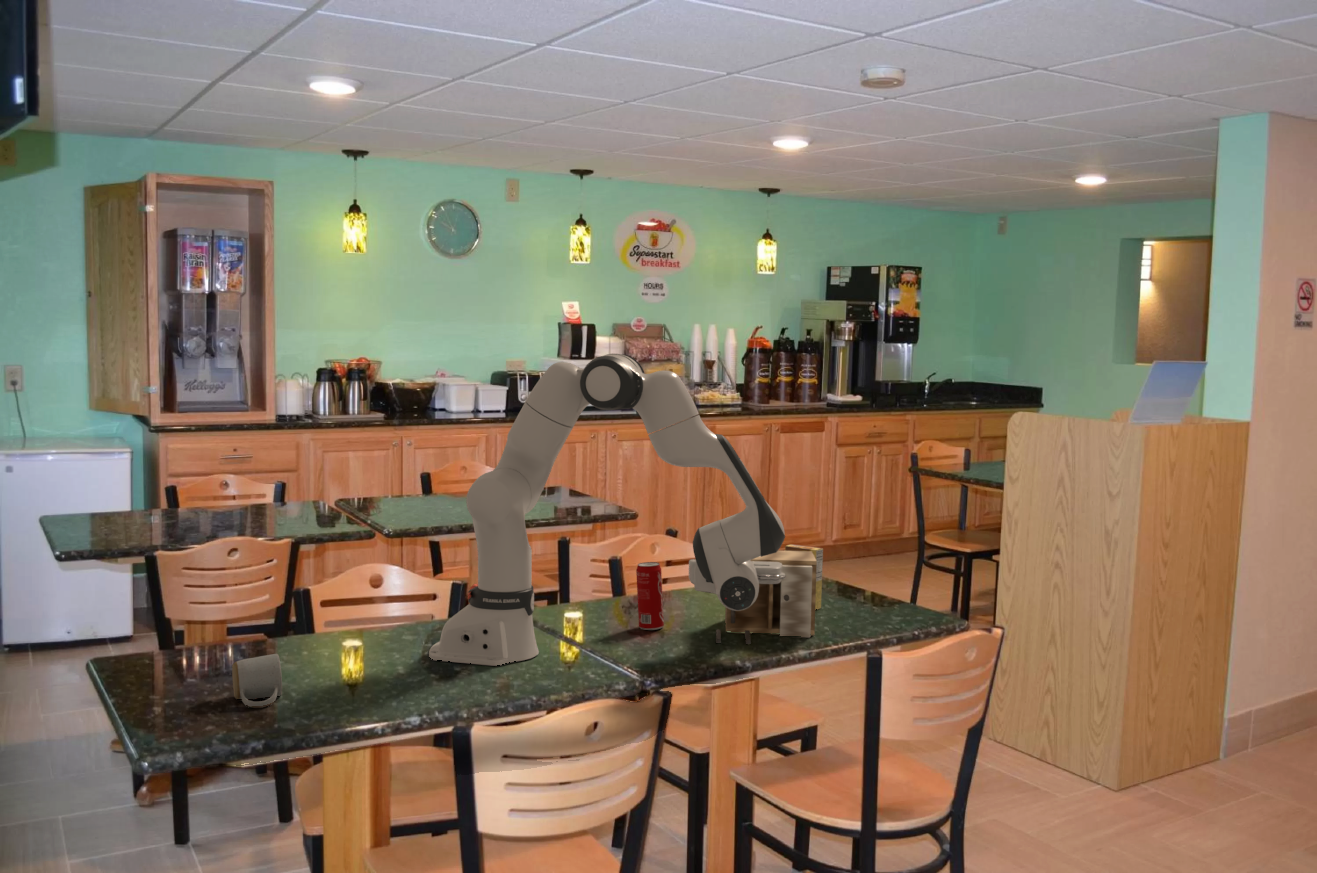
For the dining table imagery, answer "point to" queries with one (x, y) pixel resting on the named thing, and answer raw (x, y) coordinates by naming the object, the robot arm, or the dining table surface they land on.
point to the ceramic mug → (257, 679)
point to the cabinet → (780, 600)
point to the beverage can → (650, 596)
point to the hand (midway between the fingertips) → (734, 564)
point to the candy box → (819, 558)
